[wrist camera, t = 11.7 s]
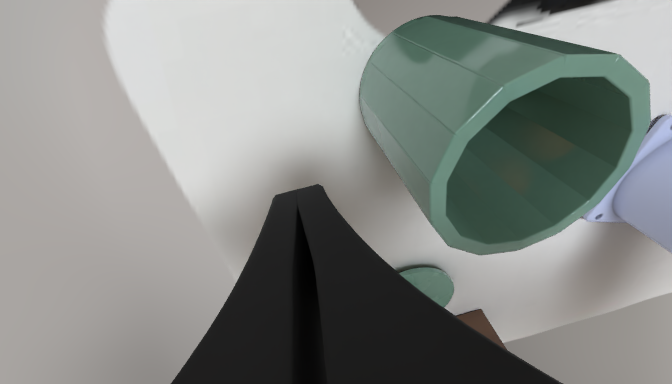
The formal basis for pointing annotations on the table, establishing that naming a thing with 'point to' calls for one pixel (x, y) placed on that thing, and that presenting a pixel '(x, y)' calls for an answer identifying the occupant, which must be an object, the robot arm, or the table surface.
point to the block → (481, 325)
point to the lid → (431, 283)
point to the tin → (501, 127)
